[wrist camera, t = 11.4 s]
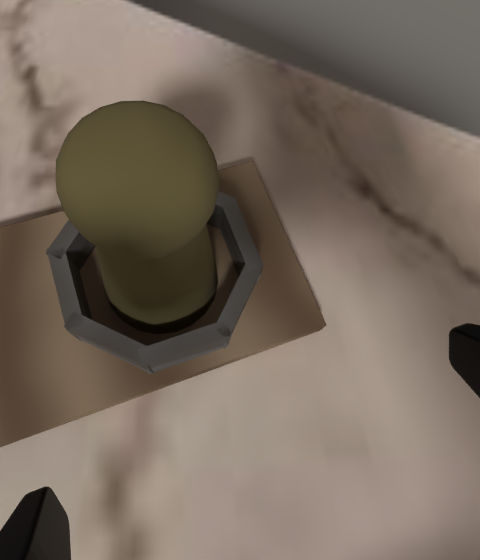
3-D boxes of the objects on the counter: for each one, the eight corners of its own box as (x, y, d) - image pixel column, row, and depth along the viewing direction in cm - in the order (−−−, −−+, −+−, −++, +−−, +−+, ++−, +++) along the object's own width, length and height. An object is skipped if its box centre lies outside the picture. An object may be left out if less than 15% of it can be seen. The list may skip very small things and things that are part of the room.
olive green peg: (140, 356, 21) (86, 280, 11) (84, 262, 22) (-13, 115, 12) (239, 295, 23) (275, 177, 12) (180, 211, 24) (168, 43, 14)
